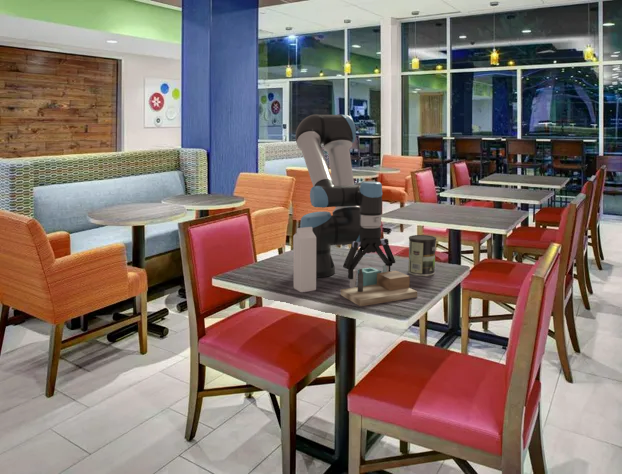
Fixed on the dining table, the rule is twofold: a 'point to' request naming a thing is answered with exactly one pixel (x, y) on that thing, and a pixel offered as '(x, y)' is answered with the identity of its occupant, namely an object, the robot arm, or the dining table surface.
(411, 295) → the base board
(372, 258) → the dining table surface
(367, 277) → the teal hollow cube
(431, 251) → the coffee can
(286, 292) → the dining table surface
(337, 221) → the robot arm
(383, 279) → the block
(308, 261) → the milk
